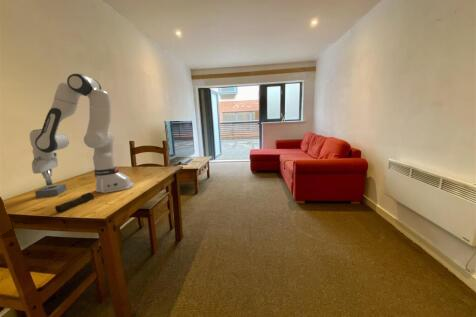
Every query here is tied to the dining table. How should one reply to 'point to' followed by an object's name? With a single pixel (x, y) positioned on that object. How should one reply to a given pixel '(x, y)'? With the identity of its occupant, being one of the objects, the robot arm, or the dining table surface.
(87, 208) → the dining table surface
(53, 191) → the hole block
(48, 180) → the steel pin
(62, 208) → the hand tool
